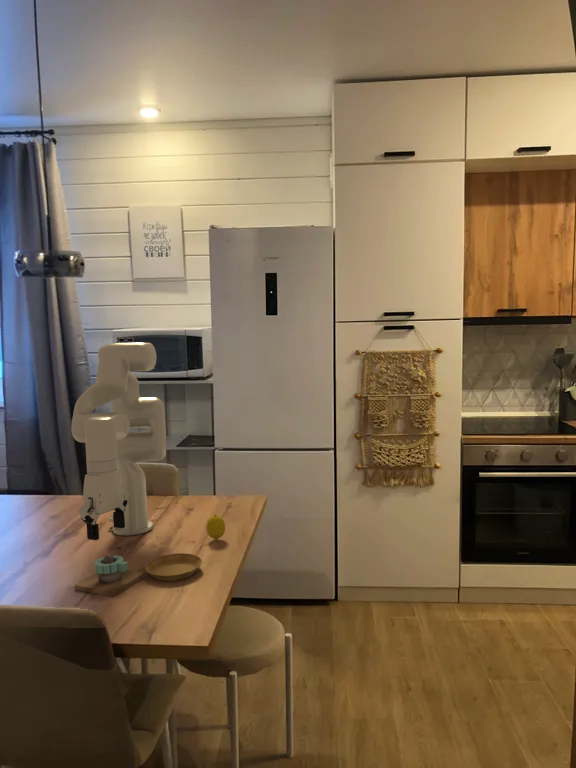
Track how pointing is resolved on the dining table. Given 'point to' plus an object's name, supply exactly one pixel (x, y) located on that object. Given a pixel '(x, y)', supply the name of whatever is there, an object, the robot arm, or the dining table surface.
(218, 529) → the lemon
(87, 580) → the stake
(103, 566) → the ring
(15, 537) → the dining table surface
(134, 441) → the robot arm
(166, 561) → the plant saucer
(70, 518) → the dining table surface
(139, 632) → the dining table surface
